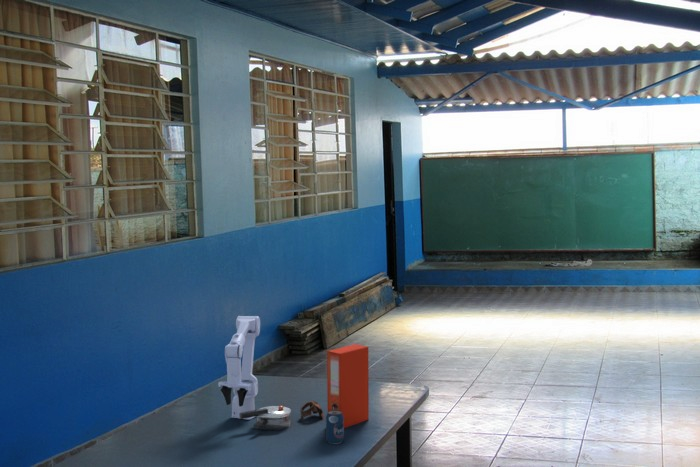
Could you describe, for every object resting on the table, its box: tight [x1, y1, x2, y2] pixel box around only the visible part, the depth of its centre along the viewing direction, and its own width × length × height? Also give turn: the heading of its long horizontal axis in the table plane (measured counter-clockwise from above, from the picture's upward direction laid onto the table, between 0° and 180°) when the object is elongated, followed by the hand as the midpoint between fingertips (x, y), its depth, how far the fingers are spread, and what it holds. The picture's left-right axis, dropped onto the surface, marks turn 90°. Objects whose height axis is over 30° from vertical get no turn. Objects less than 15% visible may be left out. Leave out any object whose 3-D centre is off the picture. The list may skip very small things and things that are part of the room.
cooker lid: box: [239, 405, 292, 420], centre depth 352 cm, size 22×15×2 cm, turn 121°
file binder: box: [326, 343, 370, 429], centre depth 355 cm, size 8×17×32 cm, turn 137°
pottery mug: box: [299, 400, 325, 420], centre depth 365 cm, size 12×10×8 cm
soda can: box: [325, 410, 345, 445], centre depth 332 cm, size 7×7×12 cm
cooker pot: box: [253, 414, 291, 431], centre depth 352 cm, size 24×14×5 cm, turn 156°
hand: (234, 405), depth 349 cm, fingers open, 5 cm apart
